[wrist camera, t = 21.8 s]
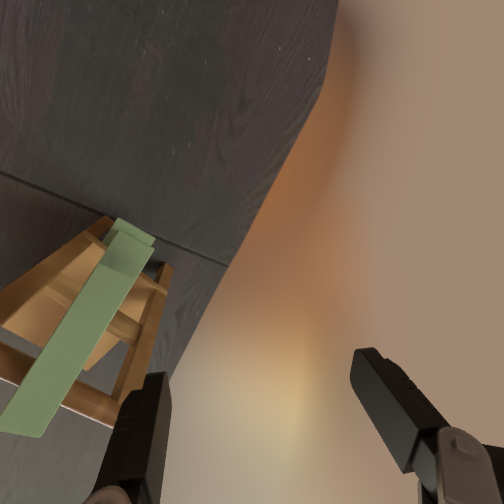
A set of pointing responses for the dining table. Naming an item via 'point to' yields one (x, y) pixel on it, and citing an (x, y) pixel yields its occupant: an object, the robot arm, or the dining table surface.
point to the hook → (78, 332)
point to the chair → (56, 305)
